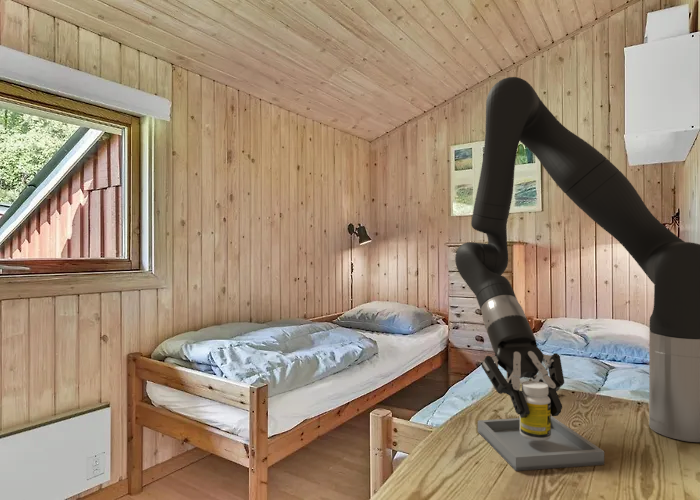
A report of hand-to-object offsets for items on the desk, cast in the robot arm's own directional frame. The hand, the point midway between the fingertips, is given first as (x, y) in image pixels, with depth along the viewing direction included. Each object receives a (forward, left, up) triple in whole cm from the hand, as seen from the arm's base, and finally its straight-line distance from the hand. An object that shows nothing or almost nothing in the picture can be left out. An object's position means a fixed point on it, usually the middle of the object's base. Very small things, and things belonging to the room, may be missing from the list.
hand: (541, 414), depth 73 cm
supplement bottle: (0, -2, -4) cm, 5 cm away
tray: (0, -2, -6) cm, 6 cm away
